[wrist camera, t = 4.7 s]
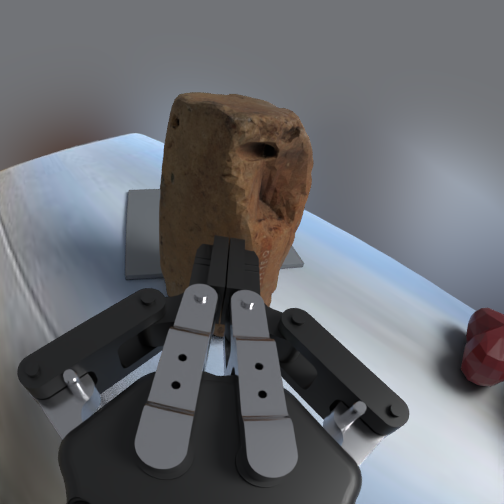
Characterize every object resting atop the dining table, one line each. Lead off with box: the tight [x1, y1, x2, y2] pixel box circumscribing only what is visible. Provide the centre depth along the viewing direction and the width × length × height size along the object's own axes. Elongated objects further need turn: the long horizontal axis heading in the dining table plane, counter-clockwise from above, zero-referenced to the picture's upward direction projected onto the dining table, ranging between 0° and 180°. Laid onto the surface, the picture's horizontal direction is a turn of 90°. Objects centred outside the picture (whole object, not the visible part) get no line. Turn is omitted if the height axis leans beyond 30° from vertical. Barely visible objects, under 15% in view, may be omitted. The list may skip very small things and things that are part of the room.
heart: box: [461, 308, 504, 387], centre depth 26 cm, size 12×8×10 cm
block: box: [159, 92, 313, 337], centre depth 24 cm, size 11×8×20 cm
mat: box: [125, 189, 304, 280], centre depth 42 cm, size 21×22×1 cm
